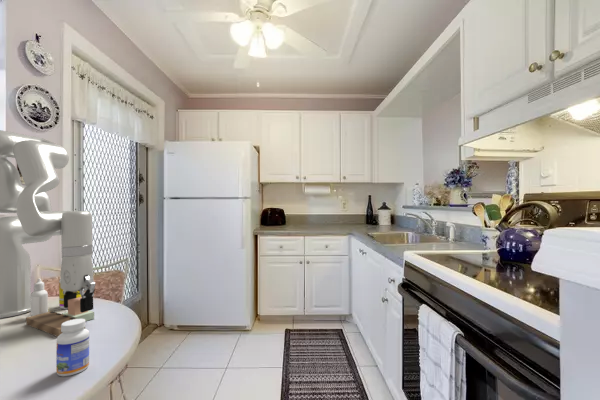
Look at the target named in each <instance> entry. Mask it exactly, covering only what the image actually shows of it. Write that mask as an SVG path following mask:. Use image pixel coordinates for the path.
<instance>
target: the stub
mask: <svg viewBox="0 0 600 400" xmlns="http://www.w3.org/2000/svg"><path fill="white" fill-rule="evenodd" d="M81 298H82V297H78V298H74V299H70V300H68V309H67V311H66V312H61V314H62V315H66V316H69V317H73V318H76V319H85V322H88V321H90V320H95V311H93V310H89V311H86V312H80V299H81Z"/></svg>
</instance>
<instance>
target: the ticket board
mask: <svg viewBox="0 0 600 400" xmlns="http://www.w3.org/2000/svg"><path fill="white" fill-rule="evenodd" d="M73 319H76V318H73V317H69V316H66V315H62V313H59V312H55V311H52V310H51V311H48V312H46V313H42V314H39V315H35V316H31V315H30V316H27V317H26V319H25V320H26V325H27V326H29V327H32V328H34V329H37V330H40V331H42V332H45V333H47V334H50V335H52V336H55V337H58V336H59V335H60V334H62V333H63V332H61V324H62V323H64V322H66V321H69V320H73ZM84 329H86V326H85V327H84Z"/></svg>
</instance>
